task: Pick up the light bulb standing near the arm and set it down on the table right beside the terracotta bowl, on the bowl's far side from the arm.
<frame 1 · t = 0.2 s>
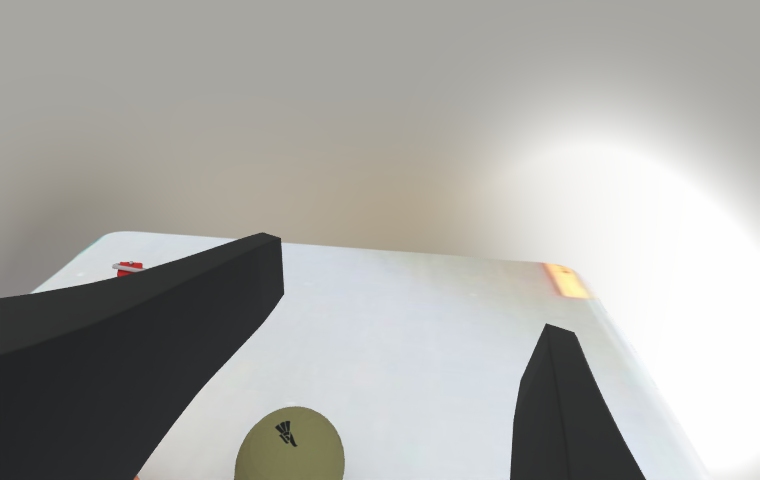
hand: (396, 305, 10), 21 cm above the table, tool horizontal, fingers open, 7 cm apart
tracker holder: (154, 312, 39), on the table
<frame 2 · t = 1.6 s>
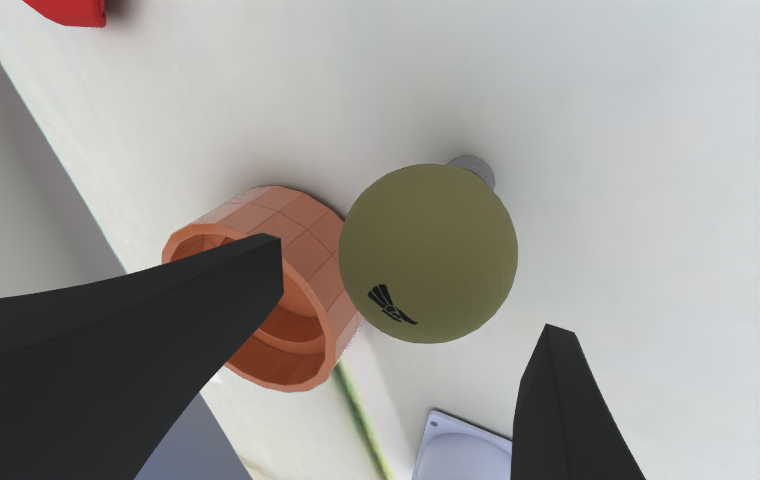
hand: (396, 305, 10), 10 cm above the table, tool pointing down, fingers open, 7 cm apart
light bulb: (469, 175, 18), on the table
bowl: (298, 263, 25), on the table
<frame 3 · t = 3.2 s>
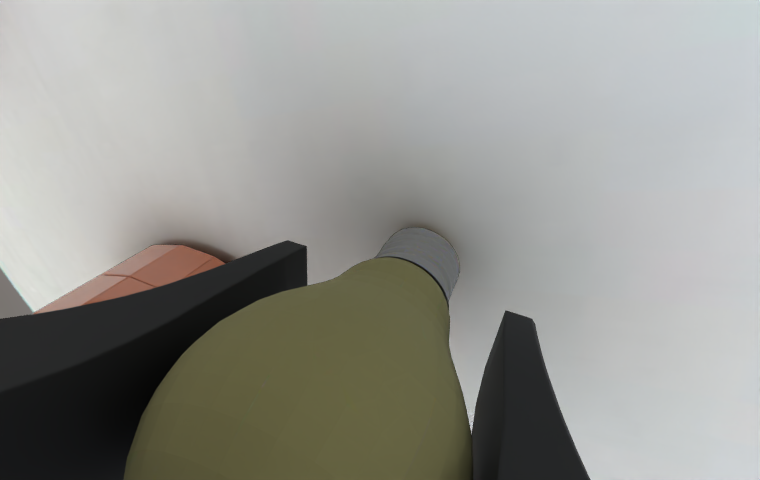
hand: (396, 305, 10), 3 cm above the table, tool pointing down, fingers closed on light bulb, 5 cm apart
light bulb: (427, 247, 13), on the table, touching gripper
bowl: (223, 335, 20), on the table
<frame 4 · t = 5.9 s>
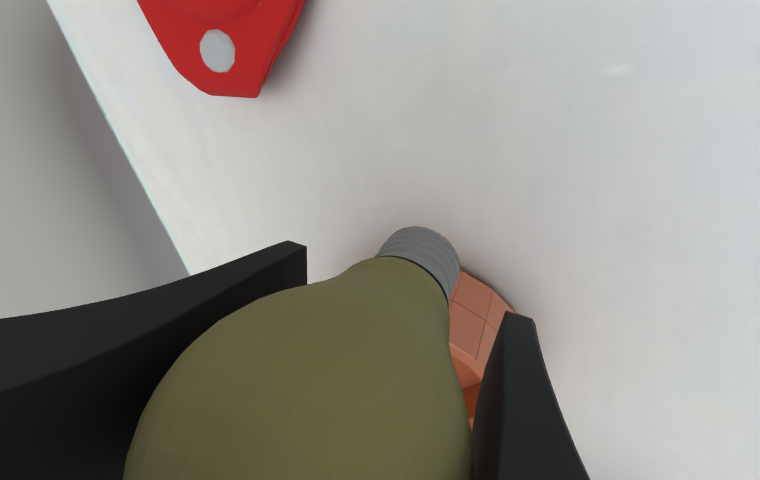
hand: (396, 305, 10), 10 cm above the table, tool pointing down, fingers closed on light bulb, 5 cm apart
light bulb: (427, 247, 13), point 7 cm above the table, touching gripper
bowl: (432, 334, 24), on the table
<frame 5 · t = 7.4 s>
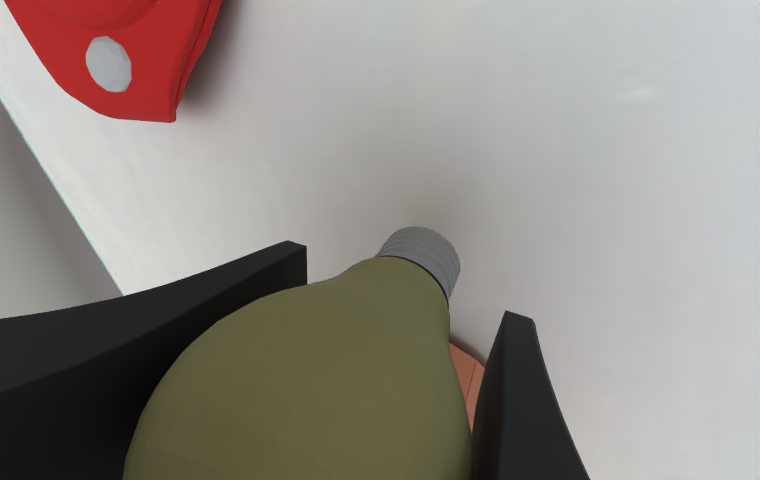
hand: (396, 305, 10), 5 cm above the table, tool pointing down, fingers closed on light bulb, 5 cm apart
light bulb: (427, 247, 13), point 2 cm above the table, touching gripper
bowl: (406, 400, 20), on the table
when the fingers open (3 cm above the table, at t = 8.6 s): light bulb stays where it is, on the table.
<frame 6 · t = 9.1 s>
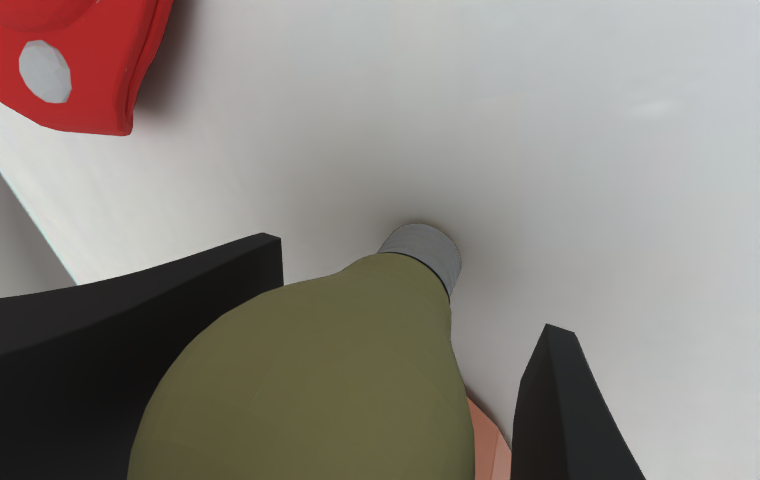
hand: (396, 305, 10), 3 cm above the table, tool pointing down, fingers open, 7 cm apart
light bulb: (428, 244, 13), on the table
bowl: (393, 432, 18), on the table
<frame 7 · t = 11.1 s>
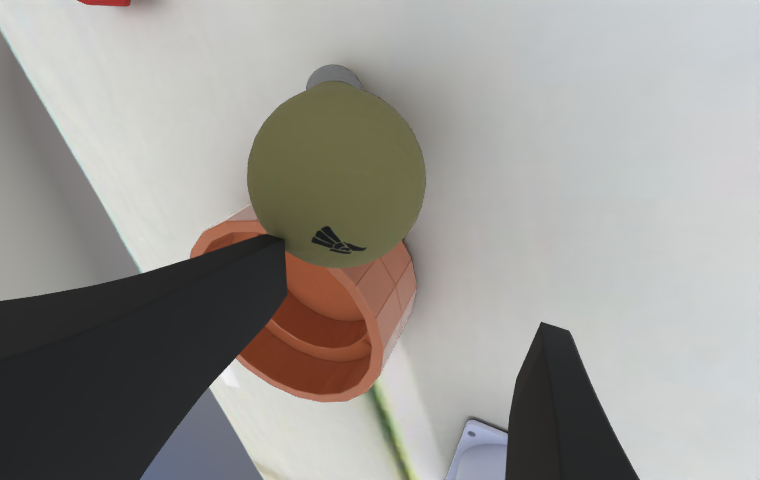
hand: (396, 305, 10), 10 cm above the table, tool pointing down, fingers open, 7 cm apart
light bulb: (332, 84, 18), on the table, touching gripper
bowl: (331, 264, 24), on the table
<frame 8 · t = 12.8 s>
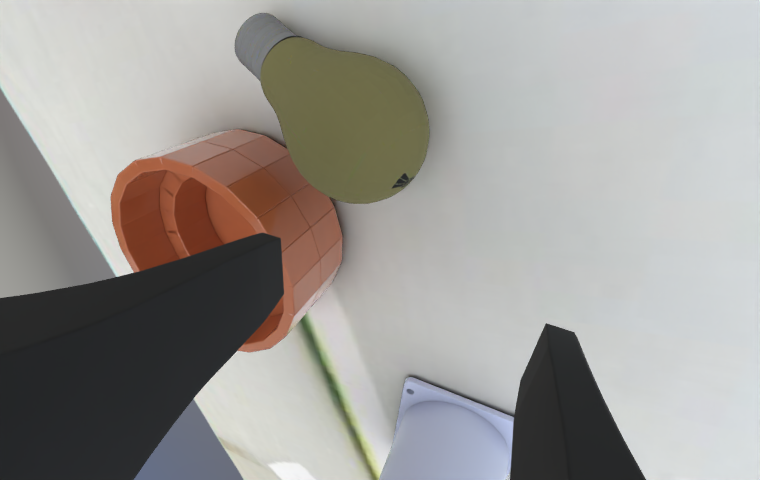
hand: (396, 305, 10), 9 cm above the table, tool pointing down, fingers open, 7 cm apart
light bulb: (245, 29, 17), point 1 cm above the table
bowl: (265, 219, 24), on the table
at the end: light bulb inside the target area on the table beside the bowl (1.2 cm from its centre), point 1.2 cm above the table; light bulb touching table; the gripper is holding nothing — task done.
